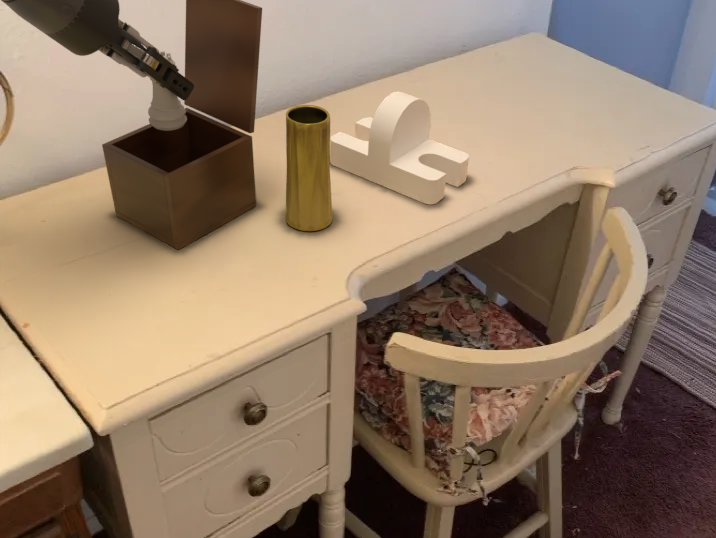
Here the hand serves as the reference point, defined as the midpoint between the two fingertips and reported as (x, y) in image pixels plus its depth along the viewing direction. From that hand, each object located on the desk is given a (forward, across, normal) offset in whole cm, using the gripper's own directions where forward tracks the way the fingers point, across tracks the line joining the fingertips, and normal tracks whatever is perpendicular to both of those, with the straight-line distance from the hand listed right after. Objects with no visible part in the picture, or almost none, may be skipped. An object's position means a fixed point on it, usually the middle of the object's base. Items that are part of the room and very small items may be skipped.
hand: (178, 86), depth 97 cm
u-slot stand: (+32, -9, -8) cm, 34 cm away
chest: (+11, 0, +12) cm, 16 cm away
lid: (+4, +2, -6) cm, 7 cm away
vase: (+19, -11, +4) cm, 22 cm away
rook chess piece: (+2, 0, +4) cm, 5 cm away
